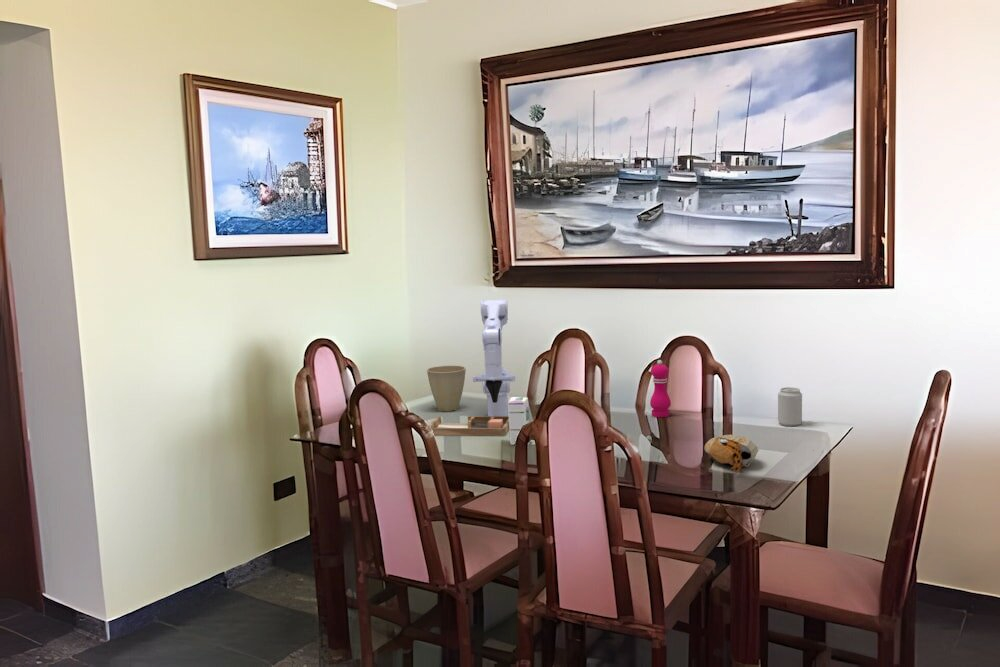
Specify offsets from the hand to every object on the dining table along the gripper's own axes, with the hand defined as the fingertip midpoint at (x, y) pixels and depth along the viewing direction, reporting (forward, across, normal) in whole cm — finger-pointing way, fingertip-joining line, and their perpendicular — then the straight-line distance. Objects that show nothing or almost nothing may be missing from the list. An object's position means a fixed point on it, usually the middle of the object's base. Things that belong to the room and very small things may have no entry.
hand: (495, 402), depth 277 cm
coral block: (+9, +1, -7) cm, 11 cm away
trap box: (+9, -8, -3) cm, 13 cm away
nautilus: (+10, +75, -39) cm, 85 cm away
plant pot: (+10, -24, +28) cm, 38 cm away
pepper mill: (+10, +56, +19) cm, 60 cm away
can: (+10, +98, +7) cm, 99 cm away
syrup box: (+10, +11, -17) cm, 22 cm away
